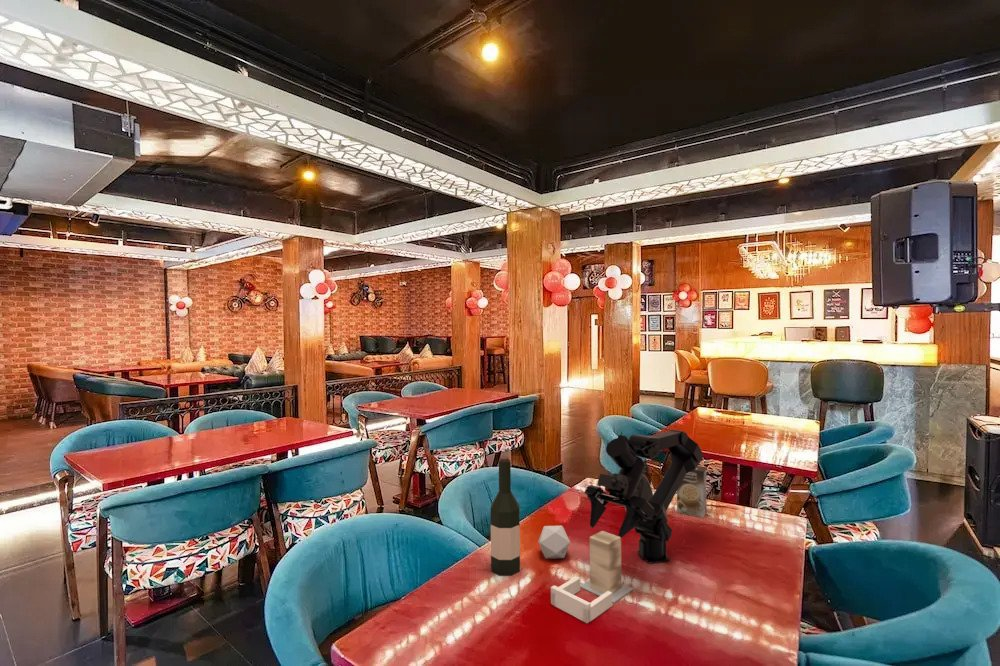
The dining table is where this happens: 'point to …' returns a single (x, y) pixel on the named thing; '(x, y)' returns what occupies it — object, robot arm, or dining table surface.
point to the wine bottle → (505, 526)
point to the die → (554, 542)
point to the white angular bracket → (579, 601)
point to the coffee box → (693, 493)
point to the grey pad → (615, 595)
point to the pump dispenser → (644, 489)
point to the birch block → (605, 562)
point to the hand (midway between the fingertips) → (605, 531)
